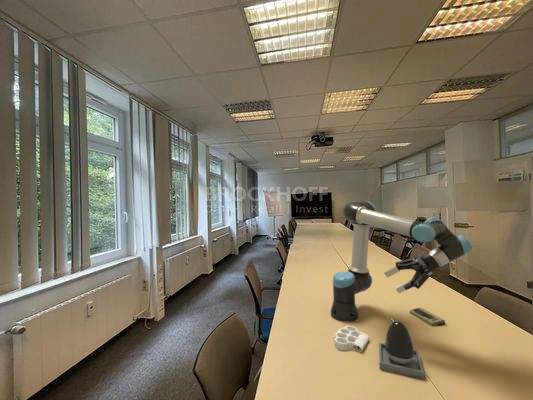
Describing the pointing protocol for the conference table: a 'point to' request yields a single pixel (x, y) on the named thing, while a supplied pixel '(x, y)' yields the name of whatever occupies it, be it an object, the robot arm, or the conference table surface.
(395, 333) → the pump dispenser
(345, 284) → the robot arm
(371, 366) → the conference table surface
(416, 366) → the holder tray
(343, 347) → the knuckle duster
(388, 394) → the conference table surface
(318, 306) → the conference table surface
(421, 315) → the computer
